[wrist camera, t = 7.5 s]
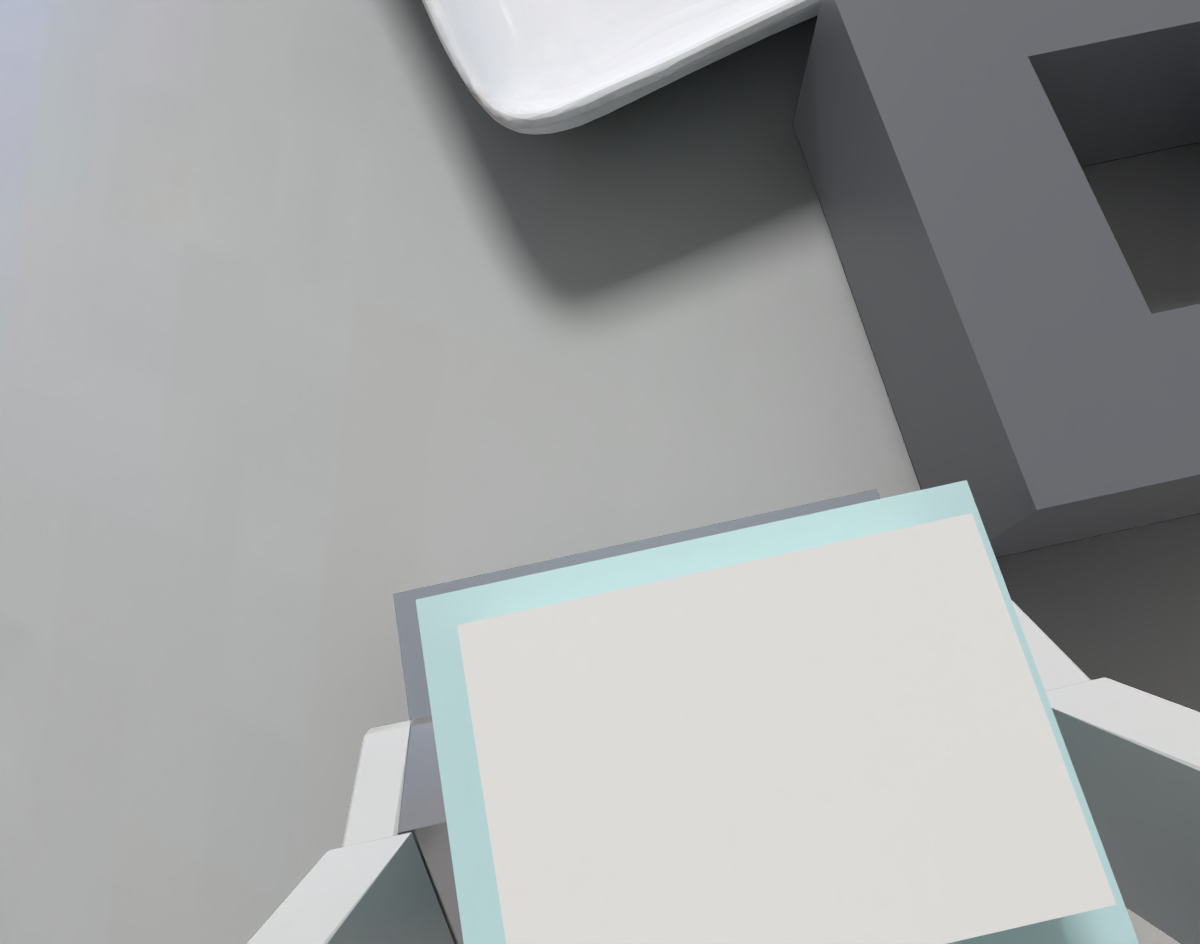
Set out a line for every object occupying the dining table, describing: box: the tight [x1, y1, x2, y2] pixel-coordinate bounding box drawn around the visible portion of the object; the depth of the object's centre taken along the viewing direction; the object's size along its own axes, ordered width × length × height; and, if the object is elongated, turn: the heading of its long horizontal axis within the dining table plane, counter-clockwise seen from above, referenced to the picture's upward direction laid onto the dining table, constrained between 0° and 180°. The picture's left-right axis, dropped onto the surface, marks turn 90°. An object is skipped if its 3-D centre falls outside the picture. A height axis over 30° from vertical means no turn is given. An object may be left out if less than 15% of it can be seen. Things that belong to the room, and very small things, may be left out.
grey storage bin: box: [393, 489, 880, 720], centre depth 15 cm, size 8×7×3 cm
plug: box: [416, 480, 1139, 944], centre depth 10 cm, size 4×3×11 cm
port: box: [793, 0, 1200, 558], centre depth 17 cm, size 12×11×5 cm
